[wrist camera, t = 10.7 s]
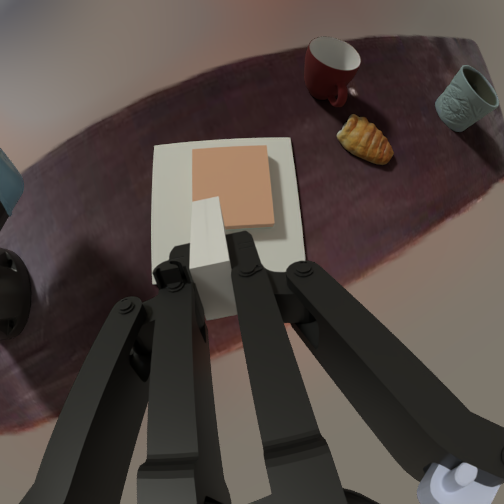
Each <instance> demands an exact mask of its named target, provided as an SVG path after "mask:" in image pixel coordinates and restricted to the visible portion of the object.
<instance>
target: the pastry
mask: <svg viewBox="0 0 504 504" xmlns="http://www.w3.org/2000/svg"><path fill="white" fill-rule="evenodd" d="M337 138H338V140H339V142H340V143H341V144H342V146H343V147H344V148H345V149H346V150H348V151H349V152H350V153H351V154H353V155H356V156H357V157H360V158H362V159H364V160H367V161H369V162H372V163H374V164H380V165H384V164H387V163H388V162H389V161H390V159H391V157H392V156H393V154H394V152H393V150H392V147H391V145H390V144H389V142H388V139H387V138H386V137H384V136H383V134H382V131H380V130H378V129H377V128H376V126H375V125H374V124H373V123H369V122H368V120H367V119H366V118H365V117H358V116H356V115H355V114H353V115H350V116H349V118H348V120H347V122H346V123H345V124H344V125H343V128H342V130H340V131H339V132H338V134H337Z"/></svg>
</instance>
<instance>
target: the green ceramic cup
mask: <svg viewBox="0 0 504 504" xmlns="http://www.w3.org/2000/svg"><path fill="white" fill-rule="evenodd" d="M435 106H436V110H437V113H438V115H439V117H440V118H441V120H442V121H443V122H444V123H445V124H446V125H447V126H448V127H449V128H450V129H452V130H454V131H456V132H462V131H464V130H465V129H467V128H468V127H469V126H471V125H472V124H474V123H475V122H476V121H478V120H480V119H481V118H483V117H484V116H485V115H487V114H488V113H490V112H491V111H493V110H494V109H496V108H497V107H498V106H499V99H498V96H497V94H496V92H495V90H494V89H493V87H492V86H491V84H490V83H489V82H488V81H487V79H486V78H485V77H484V76H483V75H482V74H481V73H480V72H478V71H477V70H476V69H474V68H473V67H470V66H468V65H464V66H462V67H461V69H460V70H459V71H458V73H457V74H456V76H455V77H454V79H453V80H452V82H451V83H450V85H449V86H447V88H446V90H445V91H444V93H442V94H441V95H440V97H439V98H438V99H437V101H436V103H435Z"/></svg>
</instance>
